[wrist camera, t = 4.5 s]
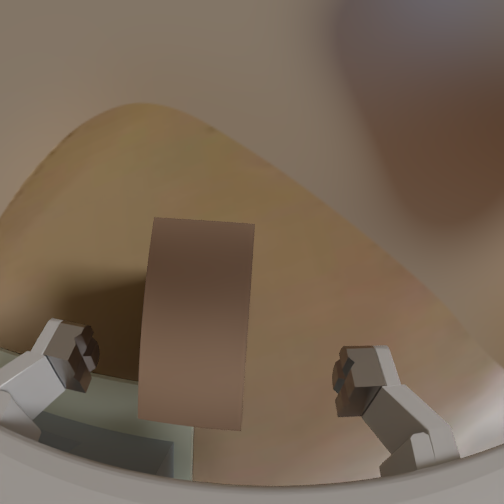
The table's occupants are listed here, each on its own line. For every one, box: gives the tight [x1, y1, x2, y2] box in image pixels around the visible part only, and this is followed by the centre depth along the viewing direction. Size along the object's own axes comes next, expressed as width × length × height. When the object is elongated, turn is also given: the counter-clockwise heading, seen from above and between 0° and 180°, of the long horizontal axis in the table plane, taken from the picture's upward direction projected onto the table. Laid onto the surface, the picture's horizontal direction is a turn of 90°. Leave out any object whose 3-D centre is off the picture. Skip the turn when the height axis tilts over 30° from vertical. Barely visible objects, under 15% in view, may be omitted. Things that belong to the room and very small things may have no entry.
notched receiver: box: [0, 348, 194, 481], centre depth 12 cm, size 10×16×9 cm, turn 86°
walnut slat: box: [138, 217, 255, 431], centre depth 14 cm, size 6×3×10 cm, turn 176°
